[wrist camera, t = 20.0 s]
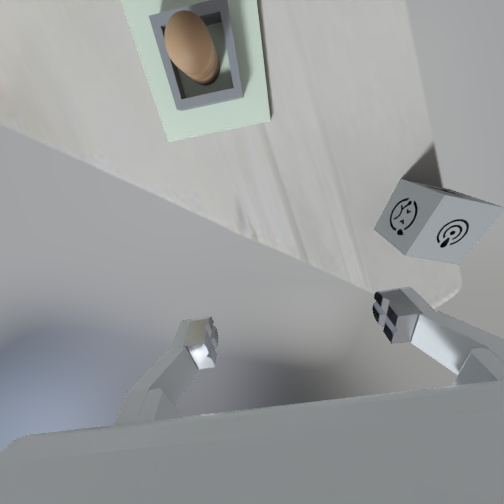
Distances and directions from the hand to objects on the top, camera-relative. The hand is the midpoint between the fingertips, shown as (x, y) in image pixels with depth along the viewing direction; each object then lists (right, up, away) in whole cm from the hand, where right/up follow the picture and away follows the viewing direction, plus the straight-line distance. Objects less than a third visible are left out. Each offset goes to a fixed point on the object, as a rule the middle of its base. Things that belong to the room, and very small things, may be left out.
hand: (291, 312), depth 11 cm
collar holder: (-9, +29, +19) cm, 35 cm away
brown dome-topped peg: (-8, +28, +18) cm, 34 cm away
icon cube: (+28, +11, +31) cm, 43 cm away
